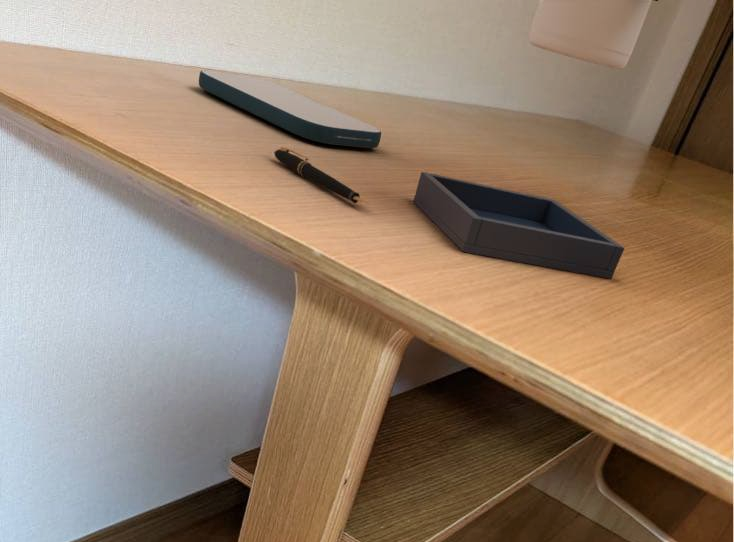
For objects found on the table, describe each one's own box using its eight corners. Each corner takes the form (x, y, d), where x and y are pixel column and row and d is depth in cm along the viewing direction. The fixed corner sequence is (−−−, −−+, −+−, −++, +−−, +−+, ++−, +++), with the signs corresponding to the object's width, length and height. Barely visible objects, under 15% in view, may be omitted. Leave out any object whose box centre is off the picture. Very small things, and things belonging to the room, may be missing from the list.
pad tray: (544, 227, 78) (554, 199, 76) (611, 279, 67) (625, 247, 66) (412, 201, 74) (421, 171, 72) (462, 251, 63) (473, 217, 62)
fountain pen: (371, 213, 66) (376, 194, 66) (360, 212, 66) (365, 193, 65) (278, 159, 75) (281, 142, 74) (267, 158, 74) (270, 140, 73)
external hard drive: (186, 85, 96) (188, 66, 95) (264, 96, 103) (267, 78, 102) (310, 147, 83) (315, 125, 82) (389, 154, 91) (394, 134, 89)
